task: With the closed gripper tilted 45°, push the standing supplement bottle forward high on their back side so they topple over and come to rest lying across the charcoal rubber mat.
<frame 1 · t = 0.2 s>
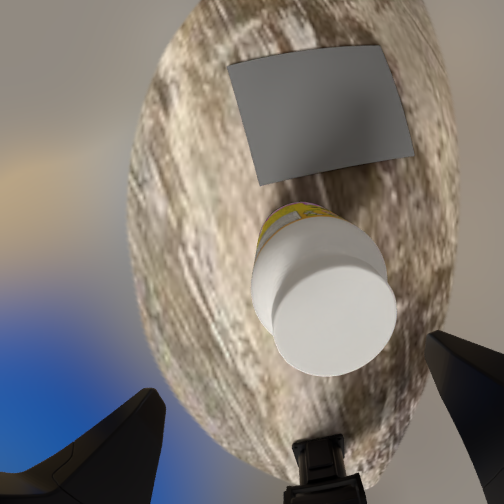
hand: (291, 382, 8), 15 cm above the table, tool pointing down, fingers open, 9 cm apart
supplement bottle: (300, 242, 22), on the table
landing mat: (325, 106, 19), on the table
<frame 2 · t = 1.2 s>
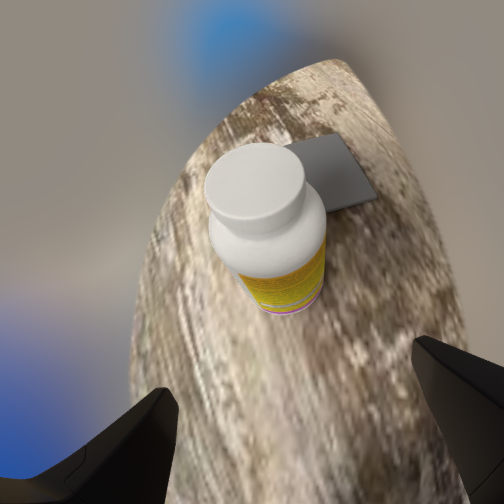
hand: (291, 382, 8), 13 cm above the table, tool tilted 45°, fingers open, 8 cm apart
supplement bottle: (284, 279, 24), on the table
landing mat: (299, 178, 28), on the table
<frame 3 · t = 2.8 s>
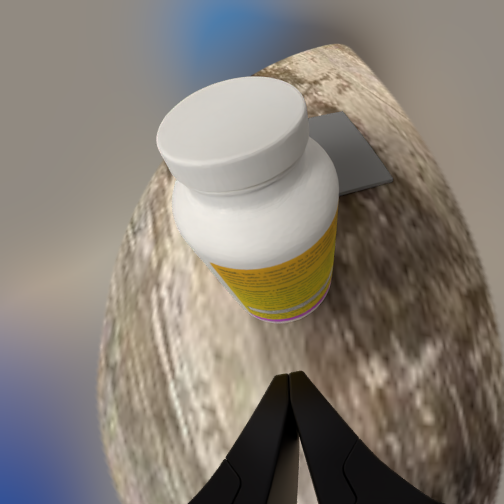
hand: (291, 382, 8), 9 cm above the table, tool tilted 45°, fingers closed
supplement bottle: (281, 277, 19), on the table
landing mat: (300, 158, 23), on the table
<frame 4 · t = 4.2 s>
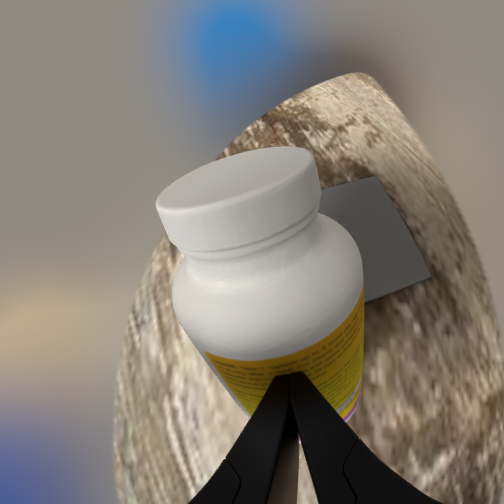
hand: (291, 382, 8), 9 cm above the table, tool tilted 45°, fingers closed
supplement bottle: (304, 395, 14), point 1 cm above the table, touching gripper
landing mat: (328, 245, 20), on the table
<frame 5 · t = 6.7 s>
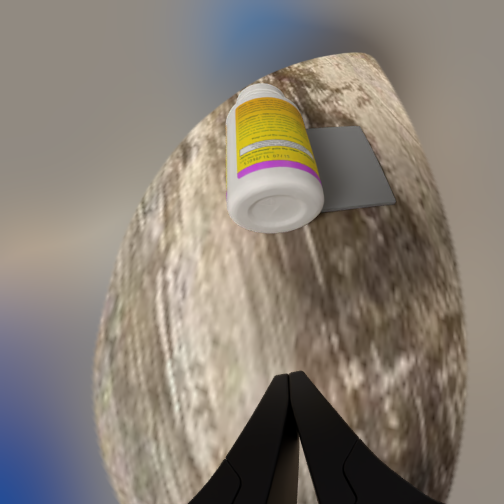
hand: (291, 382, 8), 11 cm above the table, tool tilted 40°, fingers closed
supplement bottle: (277, 216, 18), point 4 cm above the table, touching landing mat
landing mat: (312, 166, 24), on the table
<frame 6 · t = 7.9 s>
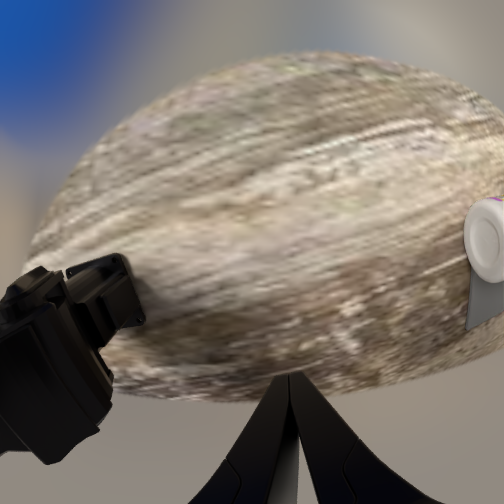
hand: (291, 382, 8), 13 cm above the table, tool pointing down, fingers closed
supplement bottle: (481, 243, 15), point 4 cm above the table, touching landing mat
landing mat: (501, 260, 19), on the table
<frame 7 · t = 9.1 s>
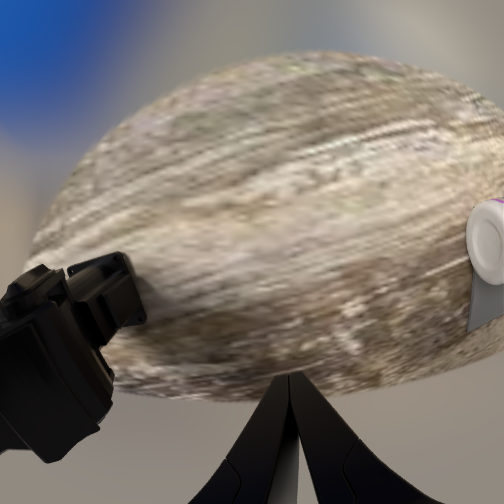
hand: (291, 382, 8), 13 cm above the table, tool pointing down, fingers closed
supplement bottle: (484, 244, 15), point 4 cm above the table, touching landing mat
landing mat: (503, 261, 19), on the table
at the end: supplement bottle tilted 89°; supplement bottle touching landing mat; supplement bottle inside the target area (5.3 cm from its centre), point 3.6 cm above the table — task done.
